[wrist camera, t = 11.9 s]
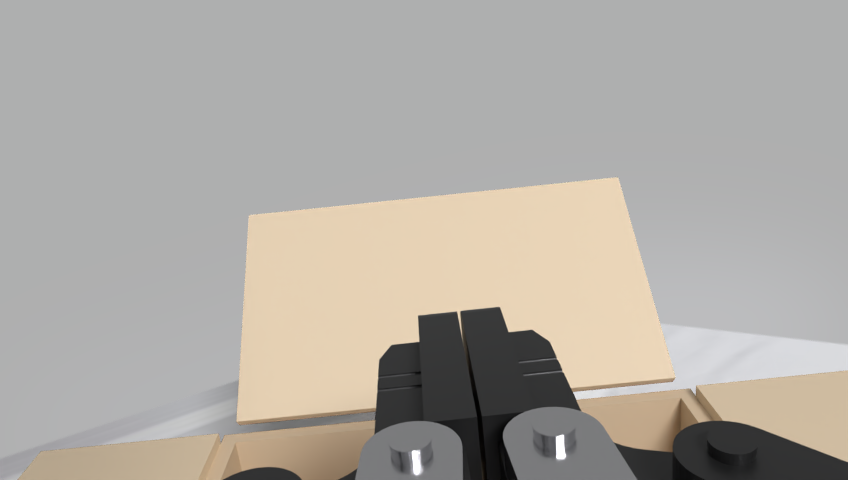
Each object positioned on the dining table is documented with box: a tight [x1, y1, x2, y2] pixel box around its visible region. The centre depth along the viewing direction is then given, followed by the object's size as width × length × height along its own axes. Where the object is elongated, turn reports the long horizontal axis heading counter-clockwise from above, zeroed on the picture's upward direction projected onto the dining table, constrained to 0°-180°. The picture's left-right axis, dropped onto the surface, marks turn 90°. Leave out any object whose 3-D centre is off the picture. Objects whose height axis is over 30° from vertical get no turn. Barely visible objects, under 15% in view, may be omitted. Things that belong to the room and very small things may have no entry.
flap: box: [236, 177, 676, 425], centre depth 26 cm, size 15×1×8 cm
